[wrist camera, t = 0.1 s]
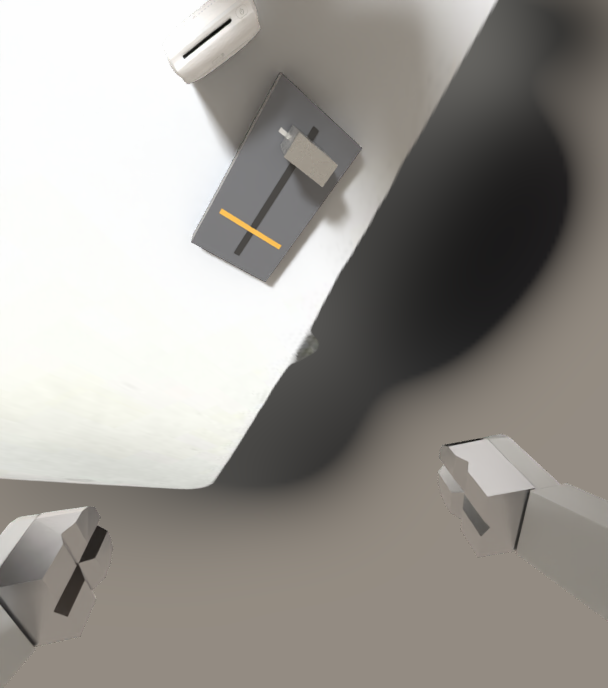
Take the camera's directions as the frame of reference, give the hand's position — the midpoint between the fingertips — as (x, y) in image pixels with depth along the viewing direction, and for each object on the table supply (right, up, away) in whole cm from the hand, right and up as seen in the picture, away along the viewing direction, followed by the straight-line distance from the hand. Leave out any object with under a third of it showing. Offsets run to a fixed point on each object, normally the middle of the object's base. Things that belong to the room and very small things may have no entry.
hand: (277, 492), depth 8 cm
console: (-5, +28, +45) cm, 53 cm away
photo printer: (-10, +41, +32) cm, 53 cm away
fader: (+1, +31, +38) cm, 49 cm away
